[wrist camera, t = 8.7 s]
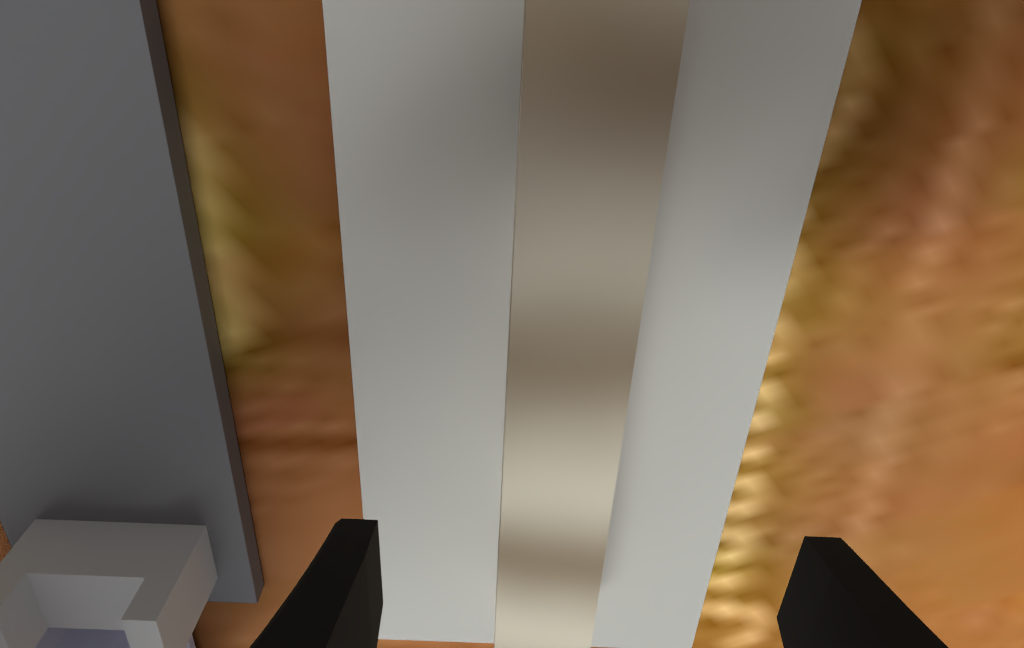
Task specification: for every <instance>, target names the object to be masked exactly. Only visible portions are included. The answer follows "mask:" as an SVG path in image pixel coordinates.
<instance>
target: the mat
mask: <svg viewBox="0 0 1024 648" xmlns="http://www.w3.org/2000/svg"><path fill="white" fill-rule="evenodd" d="M861 2H862V0H690V2H689V9H688V15H687V22H686V28H685V35H684V41H683V48H682V55H681V61H680V68H679V74H678V81H677V87H676V94H675V100H674V107H673V113H672V120H671V126H670V133H669V140H668V146H667V153H666V159H665V166H664V172H663V179H662V185H661V192H660V198H659V205H658V211H657V218H656V225H655V231H654V238H653V244H652V251H651V257H650V264H649V270H648V277H647V283H646V290H645V296H644V303H643V309H642V316H641V323H640V329H639V336H638V342H637V349H636V355H635V362H634V368H633V375H632V381H631V388H630V394H629V401H628V408H627V414H626V421H625V427H624V434H623V440H622V447H621V453H620V460H619V466H618V473H617V479H616V486H615V492H614V499H613V506H612V512H611V519H610V525H609V532H608V538H607V545H606V551H605V558H604V564H603V571H602V577H601V584H600V591H599V597H598V604H597V610H596V617H595V623H594V630H593V636H592V643H591V647H617V648H692V645H693V641H694V637H695V633H696V629H697V626H698V622H699V618H700V614H701V610H702V607H703V603H704V599H705V595H706V591H707V588H708V584H709V580H710V576H711V572H712V569H713V565H714V561H715V557H716V553H717V550H718V546H719V542H720V538H721V534H722V531H723V527H724V523H725V519H726V515H727V512H728V508H729V504H730V500H731V496H732V493H733V489H734V485H735V481H736V477H737V474H738V470H739V466H740V462H741V458H742V455H743V451H744V447H745V443H746V439H747V436H748V432H749V428H750V424H751V420H752V417H753V413H754V409H755V405H756V401H757V397H758V394H759V390H760V386H761V382H762V378H763V375H764V371H765V367H766V363H767V359H768V356H769V352H770V348H771V344H772V340H773V337H774V333H775V329H776V325H777V321H778V318H779V314H780V310H781V306H782V302H783V299H784V295H785V291H786V287H787V283H788V280H789V276H790V272H791V268H792V264H793V261H794V257H795V253H796V249H797V245H798V242H799V238H800V234H801V230H802V226H803V223H804V219H805V215H806V211H807V207H808V204H809V200H810V196H811V192H812V188H813V185H814V181H815V177H816V173H817V169H818V166H819V162H820V158H821V154H822V150H823V146H824V143H825V139H826V135H827V131H828V127H829V124H830V120H831V116H832V112H833V108H834V105H835V101H836V97H837V93H838V89H839V86H840V82H841V78H842V74H843V70H844V67H845V63H846V59H847V55H848V51H849V48H850V44H851V40H852V36H853V32H854V29H855V25H856V21H857V17H858V13H859V10H860V6H861ZM322 3H323V16H324V28H325V41H326V53H327V66H328V79H329V91H330V104H331V116H332V129H333V142H334V154H335V167H336V179H337V192H338V204H339V217H340V230H341V242H342V255H343V267H344V280H345V293H346V305H347V318H348V330H349V343H350V355H351V368H352V381H353V393H354V406H355V418H356V431H357V444H358V456H359V469H360V481H361V494H362V506H363V519H366V520H378V530H379V545H380V560H381V576H382V591H383V609H382V615H381V622H380V629H379V636H378V639H393V640H421V641H449V642H477V643H494V634H495V604H496V581H497V560H498V539H499V519H500V498H501V477H502V456H503V435H504V415H505V394H506V373H507V352H508V331H509V311H510V290H511V269H512V248H513V227H514V207H515V186H516V165H517V144H518V123H519V103H520V82H521V61H522V40H523V19H524V0H322Z"/></svg>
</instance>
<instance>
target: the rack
mask: <svg viewBox="0 0 1024 648" xmlns="http://www.w3.org/2000/svg"><path fill="white" fill-rule="evenodd" d="M0 521H1V524H2V526H3V528H4V531H5V533H6V535H7V538H8V540H9V543H10V545H11V547H12V549H11V550H10V551H9V552H8V553H7V555H6V556H5V557H4V558H3V560H2V561H1V562H0V648H35V647H36V645H37V644H38V642H39V641H40V639H41V638H42V636H43V635H44V633H45V632H46V630H47V629H48V628H74V629H102V630H124V631H125V634H126V637H127V640H128V642H129V645H130V648H186V646H187V644H188V642H189V639H190V637H191V635H192V633H193V631H194V629H195V626H196V624H197V622H198V620H199V618H200V616H201V613H202V611H203V609H204V607H205V605H206V603H207V601H208V602H236V603H258V600H259V597H260V595H261V592H262V590H263V587H264V581H263V576H262V570H261V565H260V560H259V554H258V549H257V543H256V538H255V532H254V527H253V522H252V516H251V511H250V505H249V500H248V495H247V489H246V484H245V478H244V473H243V468H242V462H241V457H240V451H239V446H238V441H237V435H236V430H235V424H234V419H233V414H232V408H231V403H230V397H229V392H228V386H227V381H226V376H225V370H224V365H223V359H222V354H221V349H220V343H219V338H218V332H217V327H216V322H215V316H214V311H213V305H212V300H211V295H210V289H209V284H208V278H207V273H206V268H205V262H204V257H203V251H202V246H201V240H200V235H199V230H198V224H197V219H196V213H195V208H194V203H193V197H192V192H191V186H190V181H189V176H188V170H187V165H186V159H185V154H184V149H183V143H182V138H181V132H180V127H179V121H178V116H177V111H176V105H175V100H174V94H173V89H172V84H171V78H170V73H169V67H168V62H167V57H166V51H165V46H164V40H163V35H162V30H161V24H160V19H159V13H158V8H157V3H156V0H0Z"/></svg>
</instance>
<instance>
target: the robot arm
mask: <svg viewBox="0 0 1024 648" xmlns="http://www.w3.org/2000/svg"><path fill="white" fill-rule="evenodd" d="M382 609H383V591H382V576H381V560H380V545H379V530H378V520H366V519H340V520H339V521H338V522H336V523H335V525H334V526H333V528H332V530H331V532H330V533H329V535H328V537H327V538H326V540H325V542H324V543H323V545H322V547H321V548H320V550H319V551H318V553H317V555H316V556H315V558H314V559H313V561H312V562H311V564H310V565H309V567H308V568H307V570H306V571H305V573H304V574H303V576H302V577H301V579H300V580H299V582H298V583H297V585H296V586H295V588H294V589H293V590H292V592H291V593H290V594H289V596H288V597H287V599H286V600H285V601H284V603H283V604H282V605H281V607H280V608H279V610H278V611H277V612H276V614H275V615H274V616H273V618H272V619H271V621H270V622H269V623H268V625H267V626H266V627H265V629H264V630H263V631H262V633H261V634H260V635H259V636H258V638H257V639H256V640H255V641H254V643H253V644H252V645H251V646H250V648H377V642H378V636H379V629H380V622H381V615H382ZM777 621H778V625H779V629H780V633H781V638H782V642H783V646H784V648H948V647H947V646H946V645H945V644H944V643H943V642H942V641H941V640H940V639H939V638H938V637H937V636H936V635H935V634H934V633H933V632H932V631H931V630H930V629H929V628H928V627H927V626H926V625H925V624H924V623H923V622H922V621H921V620H920V619H919V618H918V617H917V616H916V615H915V614H914V613H913V612H912V611H911V610H910V609H909V608H908V607H907V606H906V605H905V604H904V603H903V602H902V600H901V599H900V598H899V597H898V596H897V595H896V594H895V593H894V592H893V591H892V590H891V589H890V588H889V587H888V586H887V585H886V584H885V583H884V582H883V581H882V580H881V579H880V578H879V577H878V576H877V575H876V574H875V573H874V571H873V570H872V569H871V568H870V567H869V566H868V565H867V564H866V563H865V562H864V561H863V560H862V559H861V558H860V557H859V556H858V555H857V554H856V553H855V552H854V551H853V550H852V549H851V548H850V547H849V546H848V545H847V544H846V543H845V542H844V541H843V540H842V539H841V538H834V537H808V536H805V537H804V540H803V543H802V546H801V548H800V551H799V554H798V557H797V560H796V563H795V566H794V569H793V572H792V575H791V578H790V580H789V583H788V586H787V589H786V592H785V595H784V598H783V601H782V604H781V607H780V610H779V612H778V615H777ZM35 648H130V645H129V642H128V640H127V637H126V634H125V631H124V630H102V629H74V628H48V629H47V630H46V632H45V633H44V635H43V636H42V638H41V639H40V641H39V642H38V644H37V645H36V647H35ZM186 648H196V647H195V643H194V640H193V636H192V635H191V637H190V639H189V642H188V644H187V646H186Z"/></svg>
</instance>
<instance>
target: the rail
mask: <svg viewBox="0 0 1024 648" xmlns="http://www.w3.org/2000/svg"><path fill="white" fill-rule="evenodd" d="M689 2H690V0H524V19H523V40H522V61H521V82H520V103H519V123H518V144H517V165H516V186H515V207H514V227H513V248H512V269H511V290H510V311H509V331H508V352H507V373H506V394H505V415H504V435H503V456H502V477H501V498H500V519H499V539H498V560H497V581H496V604H495V634H494V648H591V643H592V636H593V630H594V623H595V617H596V610H597V604H598V597H599V591H600V584H601V577H602V571H603V564H604V558H605V551H606V545H607V538H608V532H609V525H610V519H611V512H612V506H613V499H614V492H615V486H616V479H617V473H618V466H619V460H620V453H621V447H622V440H623V434H624V427H625V421H626V414H627V408H628V401H629V394H630V388H631V381H632V375H633V368H634V362H635V355H636V349H637V342H638V336H639V329H640V323H641V316H642V309H643V303H644V296H645V290H646V283H647V277H648V270H649V264H650V257H651V251H652V244H653V238H654V231H655V225H656V218H657V211H658V205H659V198H660V192H661V185H662V179H663V172H664V166H665V159H666V153H667V146H668V140H669V133H670V126H671V120H672V113H673V107H674V100H675V94H676V87H677V81H678V74H679V68H680V61H681V55H682V48H683V41H684V35H685V28H686V22H687V15H688V9H689Z"/></svg>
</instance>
